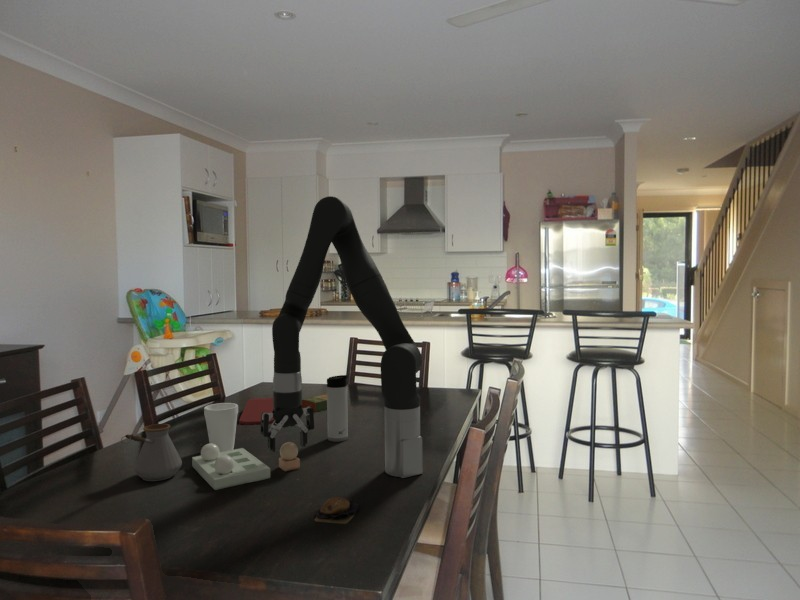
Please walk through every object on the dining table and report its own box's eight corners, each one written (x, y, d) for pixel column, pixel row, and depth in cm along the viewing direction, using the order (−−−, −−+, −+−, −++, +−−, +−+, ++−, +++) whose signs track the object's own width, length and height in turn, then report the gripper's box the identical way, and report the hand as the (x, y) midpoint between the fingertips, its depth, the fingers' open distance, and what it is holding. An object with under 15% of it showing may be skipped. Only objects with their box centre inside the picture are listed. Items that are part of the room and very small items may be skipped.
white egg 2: (237, 475, 146) (236, 456, 146) (217, 479, 143) (217, 459, 143) (231, 470, 150) (230, 451, 150) (212, 473, 147) (211, 454, 147)
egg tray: (270, 478, 149) (270, 468, 149) (214, 490, 141) (214, 479, 141) (243, 456, 166) (242, 448, 166) (192, 466, 158) (191, 457, 158)
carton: (347, 405, 229) (347, 394, 229) (315, 413, 217) (315, 402, 217) (333, 402, 235) (333, 391, 235) (301, 409, 223) (301, 398, 223)
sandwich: (348, 527, 121) (348, 510, 121) (310, 523, 123) (310, 506, 123) (363, 507, 131) (363, 490, 131) (327, 503, 133) (327, 487, 133)
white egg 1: (222, 462, 156) (221, 444, 156) (203, 465, 153) (203, 447, 153) (216, 457, 160) (216, 440, 160) (198, 460, 157) (198, 443, 157)
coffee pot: (147, 468, 157) (145, 413, 157) (189, 468, 157) (187, 413, 156) (103, 499, 136) (100, 435, 135) (151, 500, 135) (149, 435, 135)
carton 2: (274, 434, 203) (282, 406, 228) (274, 420, 202) (281, 394, 227) (239, 435, 202) (250, 407, 226) (238, 422, 201) (249, 395, 225)
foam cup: (229, 443, 179) (228, 401, 178) (245, 450, 172) (243, 406, 172) (199, 450, 172) (198, 406, 172) (214, 457, 166) (213, 412, 165)
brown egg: (301, 460, 155) (300, 443, 155) (284, 464, 153) (283, 446, 153) (293, 456, 159) (293, 438, 159) (277, 459, 157) (276, 441, 157)
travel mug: (345, 442, 179) (344, 377, 178) (324, 441, 180) (323, 376, 179) (351, 436, 185) (350, 373, 184) (331, 435, 186) (330, 373, 185)
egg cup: (299, 468, 156) (299, 459, 156) (285, 471, 153) (284, 462, 153) (293, 464, 159) (293, 455, 159) (278, 467, 157) (278, 457, 157)
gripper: (266, 394, 149) (267, 457, 149) (318, 387, 156) (318, 447, 157) (256, 388, 155) (257, 449, 156) (306, 383, 163) (306, 440, 163)
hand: (287, 448), depth 156 cm, fingers open, 8 cm apart
